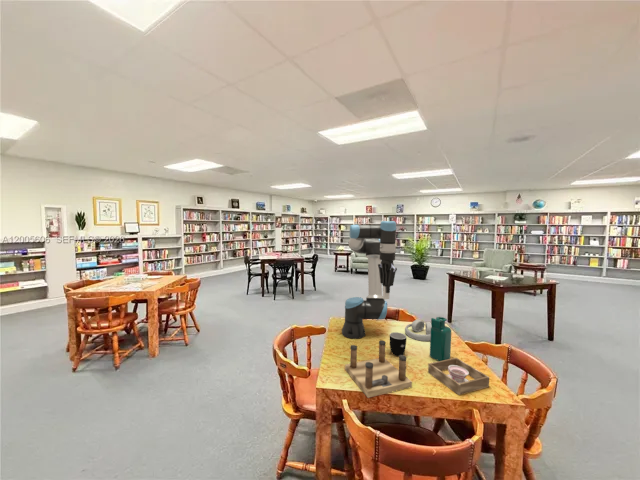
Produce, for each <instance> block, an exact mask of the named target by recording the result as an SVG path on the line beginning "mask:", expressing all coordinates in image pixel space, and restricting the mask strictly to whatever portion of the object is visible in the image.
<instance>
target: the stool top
mask: <svg viewBox="0 0 640 480" xmlns="http://www.w3.org/2000/svg"><path fill="white" fill-rule="evenodd" d="M386 343H387V342H386V341H385V340H381V339H380V340H379V341H378V345H379V346H378V358H372V359H368V360H362V361H358V359H357V357H358V355H357V354H358V346H357V345H356V344H351V345H350V362H349V363H347V364H344V370H345V372H346V373H347V374H348V375H349V377H351V379H352V380H353V381H354V382H355V384H356V385H357V387H359V389H360V390H361V391H362V393H363V394H364V396H366V398H367V399H369V398H373V397H376V396H381V395H385V394H389V393H388V392H390V393H393V392H392V391H394V392H397V391H396V390H398V391H401V390H400V389H402V390H405V389H404V388H406V389H409V387H410V388H412V387H413V381H412V380H411V379H410V378H409V377H407V376H406V379H405V380H400V379H399V378H398V377H399V368H397V367H396V366H394V364H392V363H391V361H388V360H387V358H386ZM366 362H371V363H373V380H378V379H382V376H383V375H386V376H387V377H388V383H387V384H380V385H376V386H372V388H367V387H365V372H366V366H365V363H366Z"/></svg>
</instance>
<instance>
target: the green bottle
mask: <svg viewBox="0 0 640 480" xmlns="http://www.w3.org/2000/svg"><path fill="white" fill-rule="evenodd" d="M430 320H431V321H430V322H431V326H432V327H431V333H430V341H429V357H430V358H432V359H434V360H436V361H437V362H438V361H443V360H447V359H451V354H452V353H451V350H452V349H451V348H452V347H451V346H452V328H450V327H448V326H446V321H448V319H447V318H446V317H442V316H436V318H434V317H432V318H430Z"/></svg>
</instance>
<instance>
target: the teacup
mask: <svg viewBox="0 0 640 480" xmlns="http://www.w3.org/2000/svg"><path fill="white" fill-rule="evenodd" d="M447 371H448V374H447V375H448V376H449V377H450V378H452V379H453V380H455V381H456V382H458V383H463V382H466V381H470V380H468V379H467V376H469V375H468V374H469V372H468V371H467V370H466V369H465V368H463V367H460V366H457V365H450V366H448V369H447Z"/></svg>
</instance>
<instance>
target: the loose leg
mask: <svg viewBox="0 0 640 480" xmlns="http://www.w3.org/2000/svg"><path fill="white" fill-rule="evenodd" d="M398 370H399V377H398V378H399V379H400V380H405V379H406V377H407V376H406V374H407V373H406V372H407V356H406V355H405V354H403V355H399V356H398Z"/></svg>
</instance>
